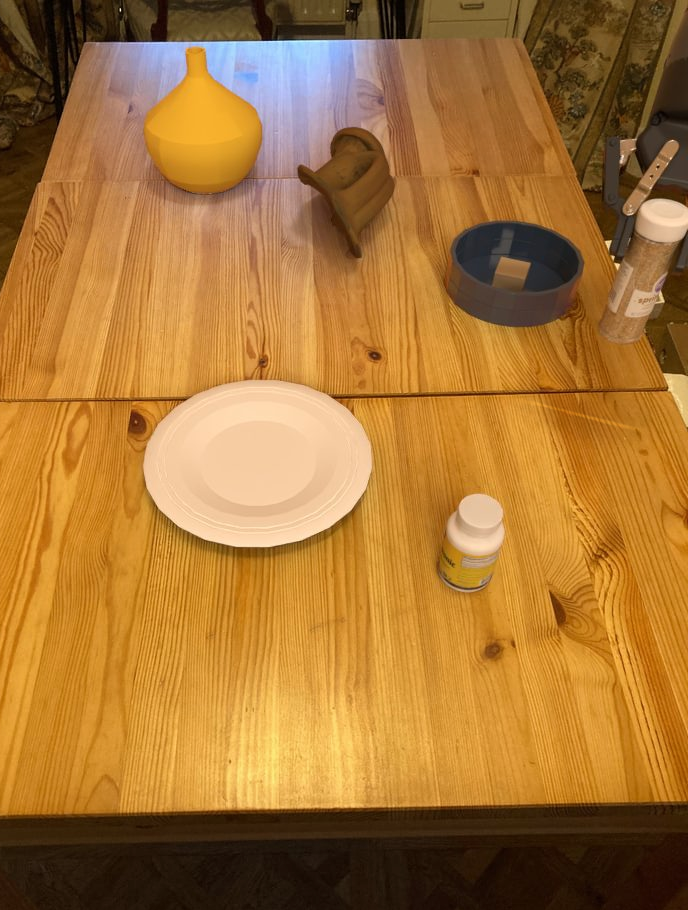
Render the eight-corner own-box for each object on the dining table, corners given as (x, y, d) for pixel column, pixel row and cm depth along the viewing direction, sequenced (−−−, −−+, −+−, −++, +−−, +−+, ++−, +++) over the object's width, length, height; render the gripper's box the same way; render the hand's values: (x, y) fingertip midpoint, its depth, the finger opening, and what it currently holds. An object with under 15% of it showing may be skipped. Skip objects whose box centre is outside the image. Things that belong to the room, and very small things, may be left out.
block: (495, 282, 106) (501, 256, 103) (524, 288, 105) (531, 262, 102) (488, 298, 104) (494, 272, 101) (518, 304, 103) (525, 279, 100)
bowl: (558, 255, 111) (568, 220, 107) (585, 331, 100) (597, 295, 96) (438, 254, 111) (444, 219, 107) (452, 330, 100) (459, 294, 96)
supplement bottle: (434, 548, 78) (448, 485, 70) (488, 550, 78) (508, 487, 70) (438, 593, 75) (453, 532, 67) (494, 595, 75) (516, 534, 67)
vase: (136, 203, 120) (112, 71, 105) (169, 147, 131) (152, 22, 117) (250, 214, 118) (243, 82, 103) (274, 157, 129) (270, 30, 115)
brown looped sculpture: (235, 185, 109) (321, 104, 117) (269, 263, 118) (347, 182, 126) (336, 187, 98) (423, 96, 106) (365, 273, 107) (444, 183, 115)
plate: (117, 543, 78) (113, 531, 77) (176, 381, 94) (174, 369, 93) (360, 570, 76) (362, 559, 75) (379, 400, 92) (380, 388, 90)
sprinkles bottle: (635, 351, 77) (687, 228, 66) (590, 337, 78) (634, 214, 67) (646, 326, 79) (698, 204, 68) (602, 313, 80) (647, 191, 70)
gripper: (631, 40, 66) (571, 241, 68) (812, 65, 62) (742, 275, 65) (619, 81, 73) (565, 261, 75) (780, 105, 70) (718, 293, 72)
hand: (647, 266), depth 70 cm, fingers closed on sprinkles bottle, 4 cm apart
